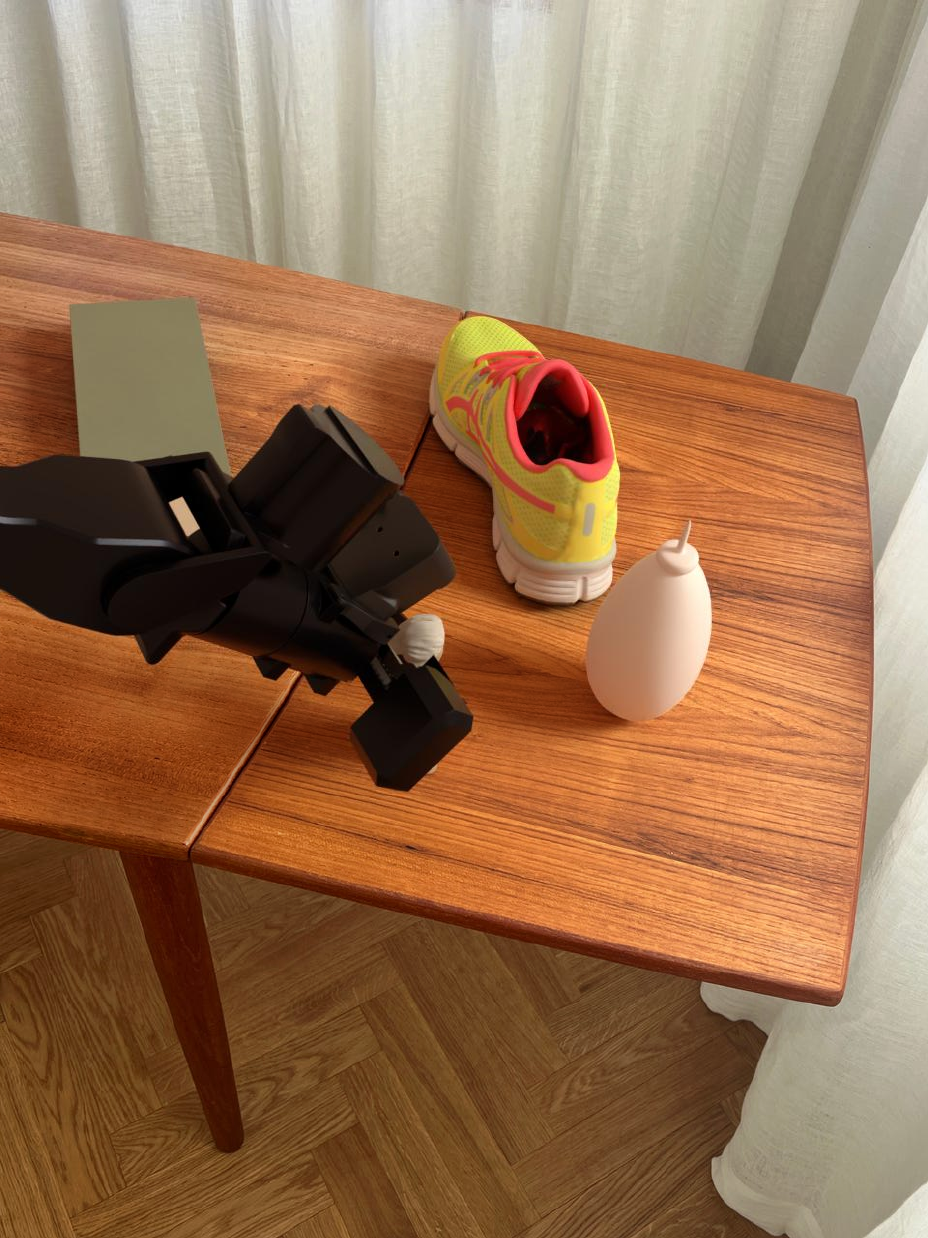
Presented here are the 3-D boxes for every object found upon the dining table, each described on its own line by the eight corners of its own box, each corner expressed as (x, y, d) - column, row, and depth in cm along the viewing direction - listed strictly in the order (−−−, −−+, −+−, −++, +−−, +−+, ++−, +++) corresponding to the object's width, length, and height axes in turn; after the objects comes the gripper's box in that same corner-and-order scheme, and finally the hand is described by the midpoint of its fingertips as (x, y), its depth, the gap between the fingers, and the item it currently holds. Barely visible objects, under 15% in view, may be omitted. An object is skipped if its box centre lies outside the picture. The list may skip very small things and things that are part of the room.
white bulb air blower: (605, 645, 83) (660, 460, 70) (698, 695, 81) (774, 514, 68) (553, 711, 79) (602, 526, 65) (650, 767, 76) (722, 587, 63)
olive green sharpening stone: (246, 575, 84) (243, 535, 81) (95, 593, 82) (86, 552, 79) (198, 334, 104) (194, 294, 101) (76, 342, 102) (68, 301, 99)
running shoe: (528, 365, 107) (552, 227, 96) (664, 600, 87) (713, 460, 77) (405, 378, 103) (415, 237, 93) (518, 625, 84) (548, 482, 73)
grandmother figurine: (462, 773, 74) (486, 654, 65) (413, 797, 73) (430, 678, 63) (403, 692, 78) (418, 568, 69) (356, 713, 77) (363, 589, 67)
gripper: (457, 620, 51) (607, 689, 64) (295, 389, 61) (451, 488, 74) (300, 777, 54) (473, 814, 66) (170, 531, 64) (341, 603, 77)
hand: (435, 669), depth 71 cm, fingers closed on grandmother figurine, 6 cm apart
